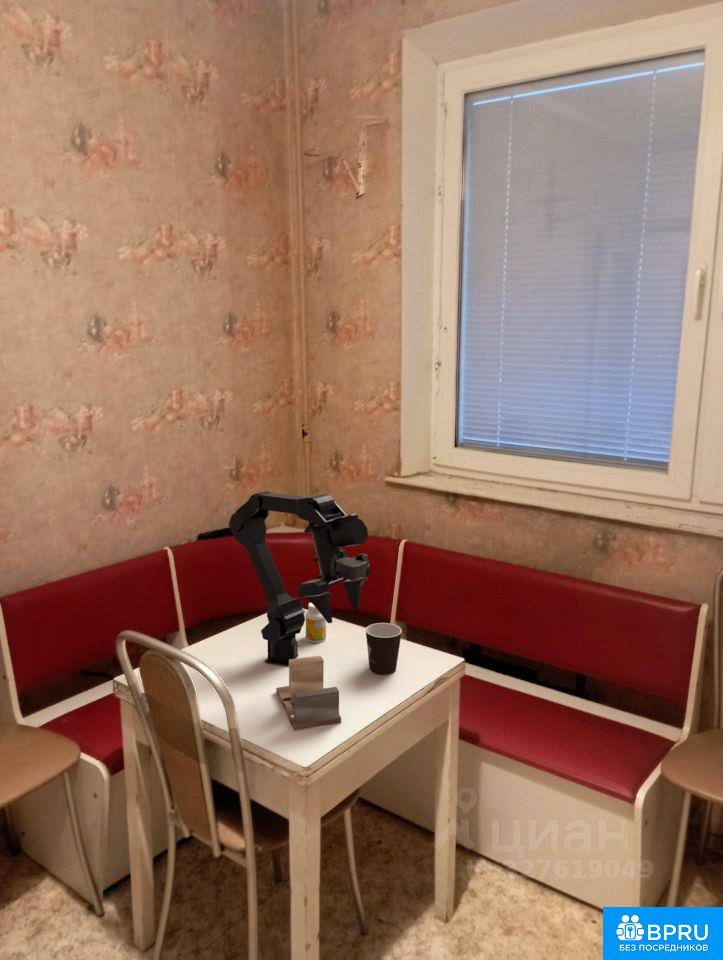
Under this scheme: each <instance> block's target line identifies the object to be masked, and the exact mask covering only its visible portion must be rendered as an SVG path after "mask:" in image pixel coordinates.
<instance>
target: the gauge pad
mask: <svg viewBox="0 0 723 960" xmlns="http://www.w3.org/2000/svg"><path fill="white" fill-rule="evenodd" d="M324 669H325V668H324V658H323V657H322V656H321V655H313V656H304V657H297V658H296V659H290V660H289V666H288V686H289V697H288V698H283V702H284V701H291V703H292V704H294V693H298V692H304V691H311V690H317V689H323V688H324V671H325V670H324Z"/></svg>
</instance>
